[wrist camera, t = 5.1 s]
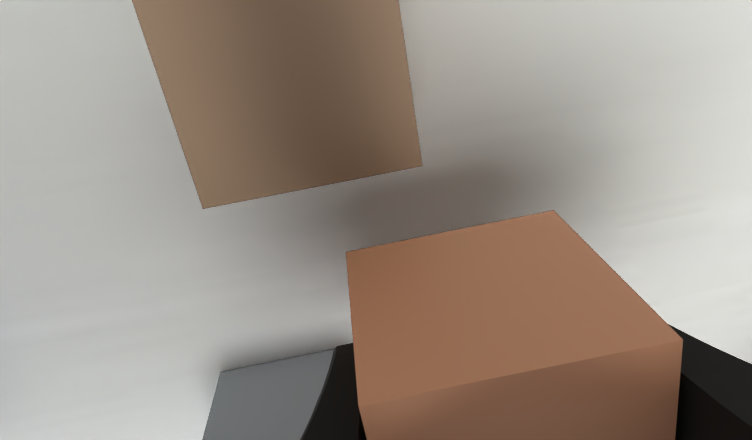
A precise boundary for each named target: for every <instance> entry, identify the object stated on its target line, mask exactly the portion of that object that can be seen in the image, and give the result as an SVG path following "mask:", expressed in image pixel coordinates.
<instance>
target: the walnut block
mask: <svg viewBox="0 0 752 440" xmlns="http://www.w3.org/2000/svg"><path fill="white" fill-rule="evenodd" d="M132 2H133V5H134V8H135V11H136V14H137V17H138V20H139V23H140V26H141V28H142V31H143V34H144V37H145V40H146V43H147V46H148V49H149V52H150V55H151V58H152V61H153V64H154V67H155V70H156V73H157V75H158V78H159V81H160V84H161V87H162V90H163V93H164V96H165V99H166V102H167V105H168V108H169V111H170V114H171V117H172V120H173V123H174V125H175V128H176V131H177V134H178V137H179V140H180V143H181V146H182V149H183V152H184V155H185V158H186V161H187V164H188V167H189V170H190V173H191V175H192V178H193V181H194V184H195V187H196V190H197V193H198V196H199V199H200V202H201V205H202V208H203V209H205V208H210V207H216V206H221V205H226V204H231V203H236V202H241V201H246V200H251V199H257V198H262V197H267V196H272V195H277V194H282V193H287V192H292V191H298V190H303V189H308V188H313V187H318V186H323V185H328V184H333V183H338V182H344V181H349V180H354V179H359V178H364V177H369V176H374V175H379V174H385V173H390V172H395V171H400V170H405V169H410V168H415V167H420V166H422V159H421V153H420V146H419V139H418V132H417V125H416V118H415V111H414V104H413V98H412V91H411V84H410V77H409V70H408V63H407V56H406V49H405V42H404V36H403V29H402V22H401V15H400V8H399V1H398V0H132Z"/></svg>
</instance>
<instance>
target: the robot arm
mask: <svg viewBox="0 0 752 440" xmlns="http://www.w3.org/2000/svg"><path fill="white" fill-rule="evenodd" d="M668 325H669V324H668ZM669 326H670V327H671V328H672V329H673V330H674V331H675V332H676V333H677V334H678V335H679V336H680V337H681V338H682V339H683V347H682V360H681V372H680V385H679V397H678V410H677V422H676V434H675V440H752V364H750V363H748V362H745V361H743V360H741V359H739V358H737V357H734V356H732V355H730V354H728V353H726V352H723V351H721V350H719V349H717V348H715V347H712V346H710V345H708V344H706V343H704V342H702V341H700V340H698V339H696V338H694V337H692V336H690V335H688V334H686V333H684V332H682V331H680V330H678V329H676V328H675V327H673V326H671V325H669ZM300 440H367V438H366V434H365V430H364V426H363V422H362V418H361V414H360V410H359V406H358V396H357V383H356V371H355V359H354V346H353V343H351V344H346V345H341V346H337V347H336V349H335V350H334V351H333V355H332V359H331V363H330V367H329V370H328V373H327V376H326V379H325V382H324V385H323V388H322V390H321V393H320V395H319V398H318V400H317V403H316V405H315V408H314V410H313V413H312V415H311V418H310V420H309V422H308V424H307V426H306V428H305V430H304V433H303V435H302V437H301V439H300Z"/></svg>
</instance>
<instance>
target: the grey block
mask: <svg viewBox="0 0 752 440" xmlns="http://www.w3.org/2000/svg"><path fill="white" fill-rule="evenodd" d="M334 350H335V349H332V350H327V351H322V352H317V353H312V354H307V355H302V356H297V357H293V358H288V359H283V360H278V361H273V362H268V363H263V364H258V365H253V366H248V367H244V368H239V369H234V370H229V371H224V372H220V376H219V380H218V384H217V387H216V391H215V395H214V398H213V402H212V406H211V410H210V413H209V417H208V421H207V424H206V428H205V432H204V436H203V439H202V440H300V439H301V437H302V435H303V433H304V430H305V428H306V426H307V424H308V422H309V420H310V418H311V415H312V413H313V410H314V408H315V405H316V403H317V400H318V398H319V395H320V393H321V390H322V388H323V385H324V382H325V379H326V376H327V373H328V370H329V367H330V363H331V359H332V355H333V351H334Z"/></svg>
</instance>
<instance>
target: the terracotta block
mask: <svg viewBox="0 0 752 440" xmlns="http://www.w3.org/2000/svg"><path fill="white" fill-rule="evenodd" d="M346 260H347V272H348V284H349V297H350V309H351V321H352V334H353V346H354V359H355V371H356V383H357V396H358V406H359V410H360V414H361V418H362V422H363V426H364V430H365V434H366V438H367V440H675V434H676V422H677V410H678V397H679V385H680V372H681V360H682V347H683V339H682V338H681V337H680V336H679V335H678V334H677V333H676V332H675V331H674V330H673V329H672V328H671V327H670V326H669V325H668V324H667V323H666V322H665V321H664V320H663V319H662V318H661V317H660V316H659V315H658V314H657V313H656V312H655V311H654V310H653V309H652V308H651V307H650V306H649V305H648V304H647V303H646V302H645V301H644V300H643V299H642V298H641V297H640V296H639V295H638V294H637V293H636V292H635V291H634V290H633V289H632V288H631V287H630V286H629V285H628V284H627V283H626V282H625V281H624V280H623V279H622V278H621V277H620V276H619V275H618V274H617V273H616V272H615V271H614V270H613V269H612V268H611V267H610V266H609V265H608V264H607V263H606V262H605V261H604V260H603V259H602V258H601V257H600V256H599V255H598V254H597V253H596V252H595V251H594V250H593V249H592V248H591V247H590V246H589V245H588V244H587V243H586V242H585V241H584V240H583V239H582V238H581V237H580V236H579V235H578V234H577V233H576V232H575V231H574V230H573V229H572V228H571V227H570V226H569V225H568V224H567V223H566V222H565V221H564V220H563V219H562V218H561V217H560V216H559V215H558V214H557V213H556V212H555V211H554V210H552V211H547V212H542V213H537V214H532V215H527V216H522V217H517V218H512V219H507V220H502V221H497V222H492V223H487V224H482V225H477V226H472V227H467V228H462V229H457V230H452V231H447V232H442V233H437V234H432V235H428V236H423V237H418V238H413V239H408V240H403V241H398V242H393V243H388V244H383V245H378V246H373V247H368V248H363V249H358V250H353V251H348V252H346Z"/></svg>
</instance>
